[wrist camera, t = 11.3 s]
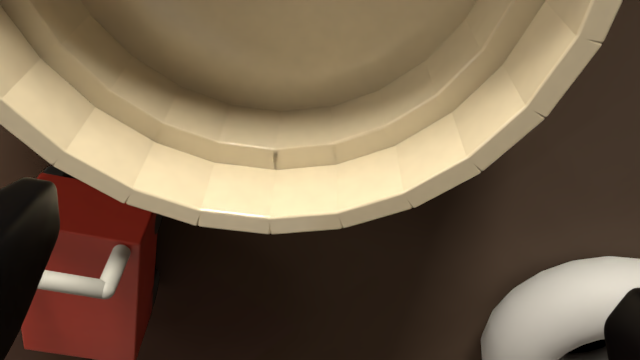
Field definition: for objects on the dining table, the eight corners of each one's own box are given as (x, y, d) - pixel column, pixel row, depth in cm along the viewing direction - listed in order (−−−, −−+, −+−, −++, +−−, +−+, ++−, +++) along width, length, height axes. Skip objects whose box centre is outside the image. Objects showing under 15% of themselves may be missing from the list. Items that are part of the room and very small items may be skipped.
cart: (53, 153, 22) (-28, 267, 17) (168, 174, 22) (121, 291, 18) (61, 276, 26) (-2, 397, 21) (158, 292, 27) (118, 413, 22)
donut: (533, 216, 24) (441, 361, 29) (561, 276, 21) (453, 423, 26) (740, 264, 25) (614, 393, 31) (793, 326, 22) (643, 456, 28)
